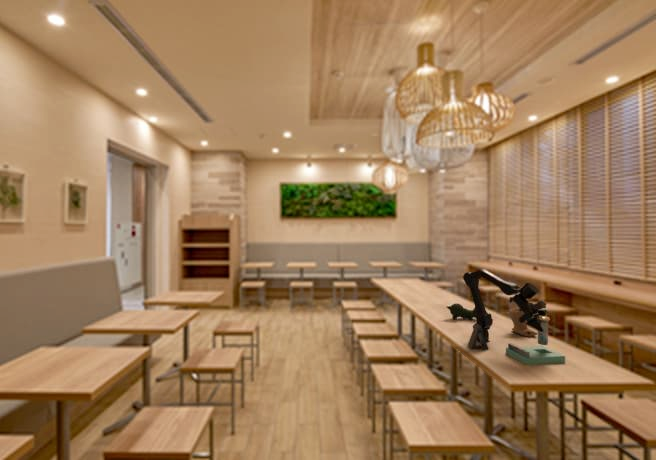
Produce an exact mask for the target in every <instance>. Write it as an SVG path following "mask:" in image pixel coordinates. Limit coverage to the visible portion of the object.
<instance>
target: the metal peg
mask: <svg viewBox="0 0 656 460" xmlns="http://www.w3.org/2000/svg"><path fill="white" fill-rule="evenodd" d="M537 320H538V323H539V324H540V326H541V327H542V329H543V330H544V331H543V332H541V331H539V330H537V333H538V334H537V344H539V345H540V346H548V345H549V330H548V328H549V321H550V320H551V318H550V317H548V316H547V315H546V316H537Z"/></svg>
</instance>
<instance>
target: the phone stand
mask: <svg viewBox="0 0 656 460" xmlns="http://www.w3.org/2000/svg"><path fill="white" fill-rule="evenodd" d="M477 325H478V324H477ZM477 325H476V324H475V323H474V324H472V332H471V335H470V337H469V340H468V343H467V346H468V348H469V349H471V350H477V351H478V350H481V351H483V350H487V351H488V350H489V349H490V348H489V346H488V343H487V342H486V340H485V337H484V335H483V328H482V327H481V326H479V325H478V326H477ZM478 336H479V340H480V342H479V343H480V345H479V344H478V345H477V343H478V341H477V339H478Z"/></svg>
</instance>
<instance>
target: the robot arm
mask: <svg viewBox="0 0 656 460" xmlns="http://www.w3.org/2000/svg"><path fill="white" fill-rule="evenodd" d="M481 278H482V279H484V280H486V281H487V282H490V283H491V284H493V285H494V286H496V287H497V288H498V289H500V291H501V292H502V293H503V294H505V295H506V296H510V297H509V300H508V301H509V302H508V303H514V304H515V305H516V306H517V307H518V309H519V311H520V312H521V311H522V312H523V313H524V314H523V315H522V316H521V317H520V318H519V322H520V323H521V324H523V323H525V321H526V320H527V323H525V324H527V326H529V327H532V328H533V329H534V330H537V331H538V330H539V331H541V332H543V331H544V330H543V329H542V327H541V326H540V324H539V323H538V320H537V316H546V317H547V315H548V314H549V311H548V310H547V302H545V301H544V300H539V301H537V302H536V303H533V302H530V301H529V300H531V299H533V298H534V297H535V296H536V295H537V294H538V293H540V289H539V288H538V287H537V286H536V285H534V284H532V283H531V282H530V281H529V282H526V283H525V284H524V285H523V286H522V287H521V286H519V285H518V284H516V283H513V282H511V281H508V280H507V281H506V280H505V279H502V278H501V277H499V276H498V275H495V274H494V273H492V272H490V271H488V270H487V269H485V268H484V269H483V268H482V269H478V270H476V271H475V270H474V271H469V272H465V273H464V274H463V276H462V279H463V282H464V283H465V285H466V286H467V287H468V288H469V290H470V291H469V292H470V296H471V295H472V297H471V298H472V301H473V304H474V308H476V311H477V315H476V318H475V321H476V322H475V323H474V324H476V325H477V324H478V325H479V326H481V327H482V328H483V335H484V337H485V340H486V343H487V342H489V343H490V334H489V330H490V329H491V328H492V326H493V323H494V322H493V321H494V319H493V317H492V314H491V313H488V312H487V309H486V306H485V303H484V299H483V297H482V294H481V290H480V288H479V284H480V279H481ZM482 299H483V300H482ZM478 325H477V326H478ZM549 330H550V328H549V327H548V331H549ZM478 342H479V343H480V340H479V336H478V339H477V343H478Z"/></svg>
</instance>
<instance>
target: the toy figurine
mask: <svg viewBox="0 0 656 460" xmlns="http://www.w3.org/2000/svg"><path fill="white" fill-rule="evenodd" d="M469 298H472V295H471V294H470V296H469ZM482 300H483V301H484V299H483V298H482ZM445 308H447V309H448V310H449V312H450V314H451V315H452V317H451V318H452V319H453V320H457V319H458V318H461V319H463V320H464V321H465V320H467V319H468V320H469V321H472V320H473V318H475V319H476V315H477V311H476V308H475V307H474V308H473V309H468V308H465V307H464V306H463V305H462V304H460V303H453V304H452V305H449V306H446V307H445Z"/></svg>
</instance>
